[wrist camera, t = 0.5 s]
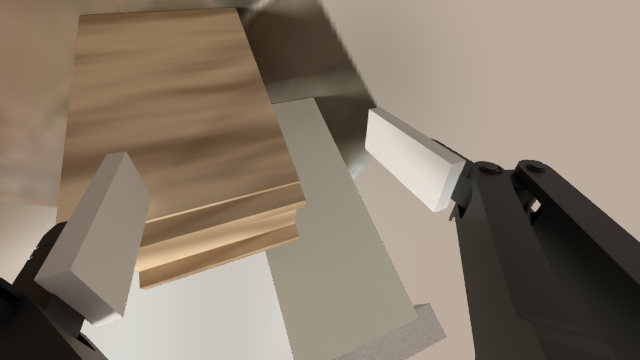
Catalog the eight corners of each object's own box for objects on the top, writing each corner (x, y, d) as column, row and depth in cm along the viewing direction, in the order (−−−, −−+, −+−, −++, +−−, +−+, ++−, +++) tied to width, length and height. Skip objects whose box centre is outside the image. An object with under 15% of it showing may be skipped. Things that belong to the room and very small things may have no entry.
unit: (228, 111, 33) (298, 376, 20) (313, 97, 36) (418, 317, 23) (242, 162, 43) (293, 355, 31) (306, 148, 47) (375, 317, 34)
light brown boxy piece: (79, 15, 19) (50, 271, 11) (235, 7, 23) (306, 198, 14) (138, 102, 27) (148, 289, 19) (248, 86, 30) (298, 240, 22)
